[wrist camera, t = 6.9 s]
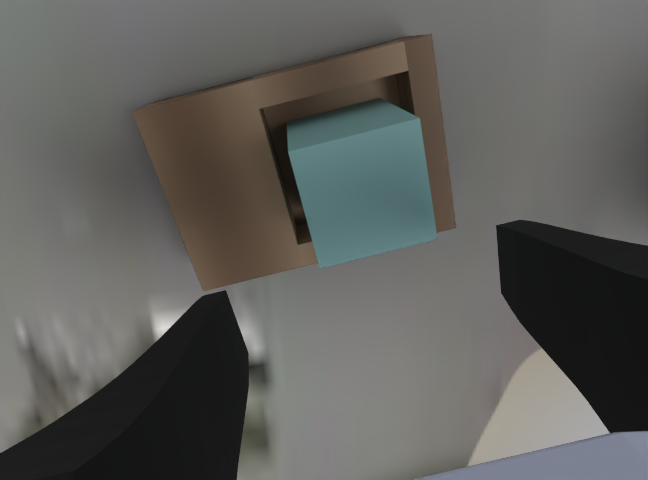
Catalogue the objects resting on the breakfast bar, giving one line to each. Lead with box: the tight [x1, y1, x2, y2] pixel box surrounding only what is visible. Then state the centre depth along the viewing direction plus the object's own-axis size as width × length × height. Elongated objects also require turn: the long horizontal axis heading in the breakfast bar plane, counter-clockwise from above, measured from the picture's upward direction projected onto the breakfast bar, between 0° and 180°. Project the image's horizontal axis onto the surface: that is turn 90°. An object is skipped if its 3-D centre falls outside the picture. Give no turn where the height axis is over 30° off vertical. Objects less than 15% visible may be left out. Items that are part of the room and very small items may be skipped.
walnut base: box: [132, 34, 456, 291], centre depth 19 cm, size 11×8×3 cm
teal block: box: [287, 98, 438, 269], centre depth 17 cm, size 4×4×6 cm
